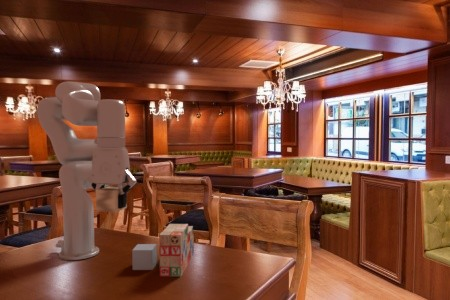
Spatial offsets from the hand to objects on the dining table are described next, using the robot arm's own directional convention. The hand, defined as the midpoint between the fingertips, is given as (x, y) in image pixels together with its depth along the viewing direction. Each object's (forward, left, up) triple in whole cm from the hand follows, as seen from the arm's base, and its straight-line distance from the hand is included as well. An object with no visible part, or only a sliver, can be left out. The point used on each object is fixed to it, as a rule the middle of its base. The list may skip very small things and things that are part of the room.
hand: (111, 206), depth 98 cm
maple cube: (0, 0, -1) cm, 1 cm away
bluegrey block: (+5, +9, -20) cm, 22 cm away
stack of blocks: (+14, +14, -20) cm, 28 cm away
